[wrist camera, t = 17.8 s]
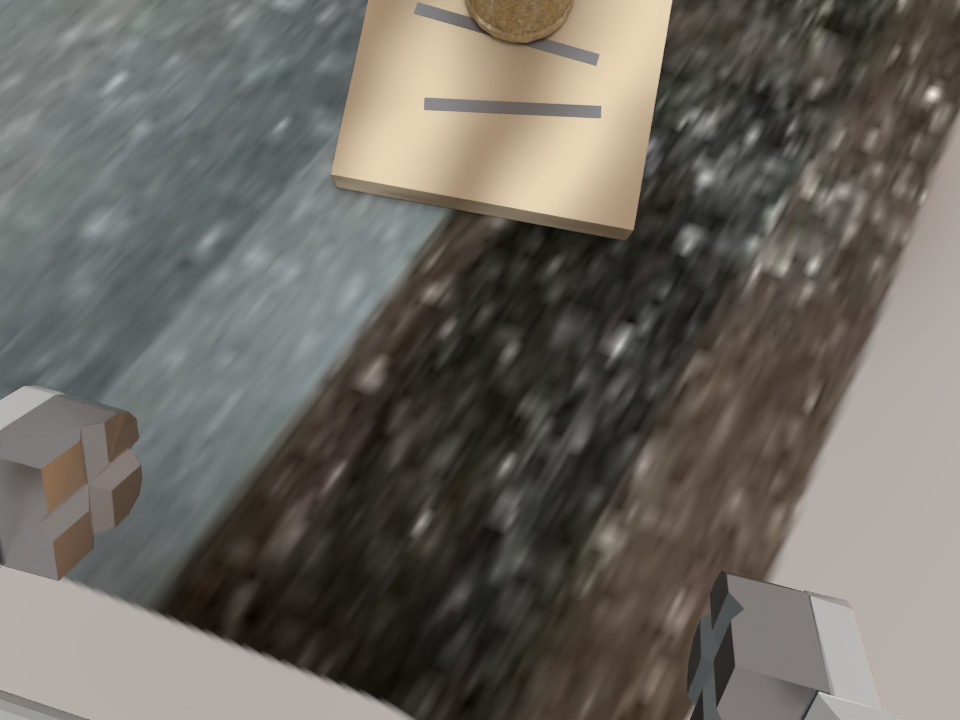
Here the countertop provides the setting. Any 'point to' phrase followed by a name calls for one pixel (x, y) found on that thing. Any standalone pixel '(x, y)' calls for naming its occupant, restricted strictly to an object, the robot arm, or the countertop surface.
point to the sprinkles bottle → (519, 17)
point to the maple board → (505, 112)
